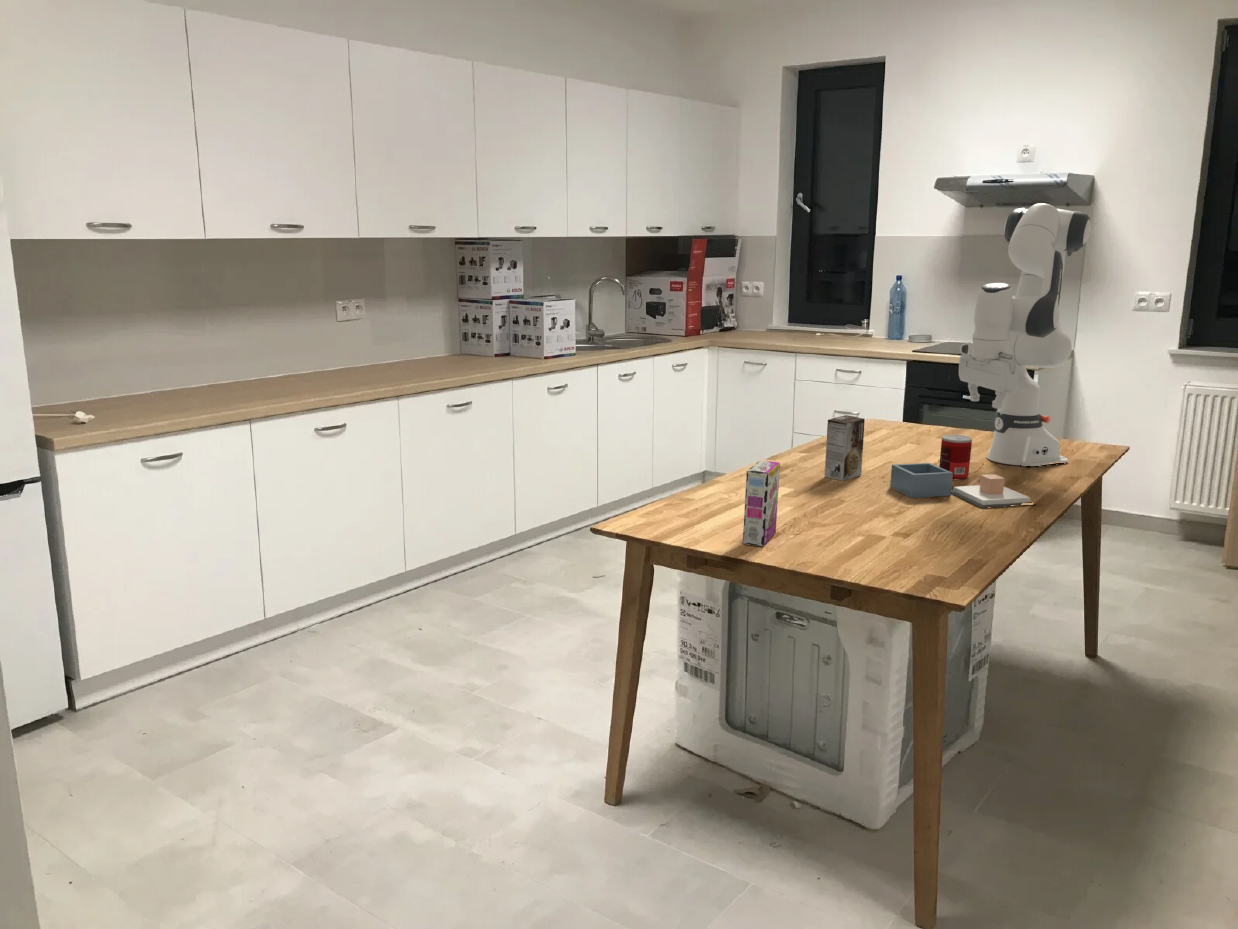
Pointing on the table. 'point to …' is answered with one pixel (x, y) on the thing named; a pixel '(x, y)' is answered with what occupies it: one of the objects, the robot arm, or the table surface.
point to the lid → (991, 492)
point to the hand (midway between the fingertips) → (985, 404)
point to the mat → (983, 505)
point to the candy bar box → (761, 502)
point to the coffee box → (844, 447)
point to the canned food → (956, 455)
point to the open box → (921, 480)
